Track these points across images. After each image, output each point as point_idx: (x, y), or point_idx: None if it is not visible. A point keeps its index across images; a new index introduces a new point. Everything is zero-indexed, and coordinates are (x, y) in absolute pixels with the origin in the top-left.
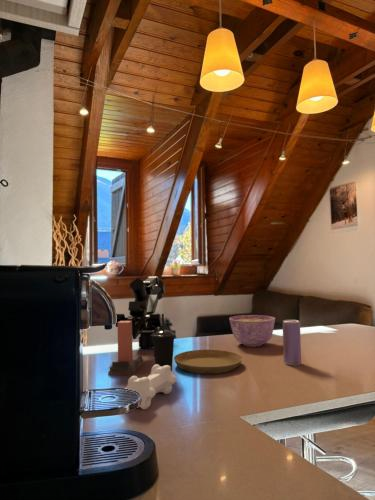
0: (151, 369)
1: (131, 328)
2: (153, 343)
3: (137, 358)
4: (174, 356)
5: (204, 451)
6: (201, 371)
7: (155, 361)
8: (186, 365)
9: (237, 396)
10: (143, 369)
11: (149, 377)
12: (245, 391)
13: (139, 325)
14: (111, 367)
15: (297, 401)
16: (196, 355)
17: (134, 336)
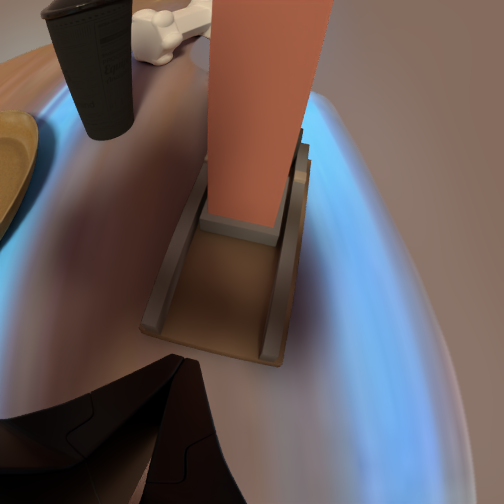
0: (173, 16)
1: (216, 20)
2: (131, 15)
3: (177, 245)
4: (3, 216)
5: (159, 6)
6: (15, 128)
7: (131, 73)
8: (34, 120)
9: (50, 60)
10: (159, 200)
11: (185, 12)
12: (26, 73)
13: (32, 429)
14: (301, 144)
15: (9, 62)
16: None
17: (174, 360)
